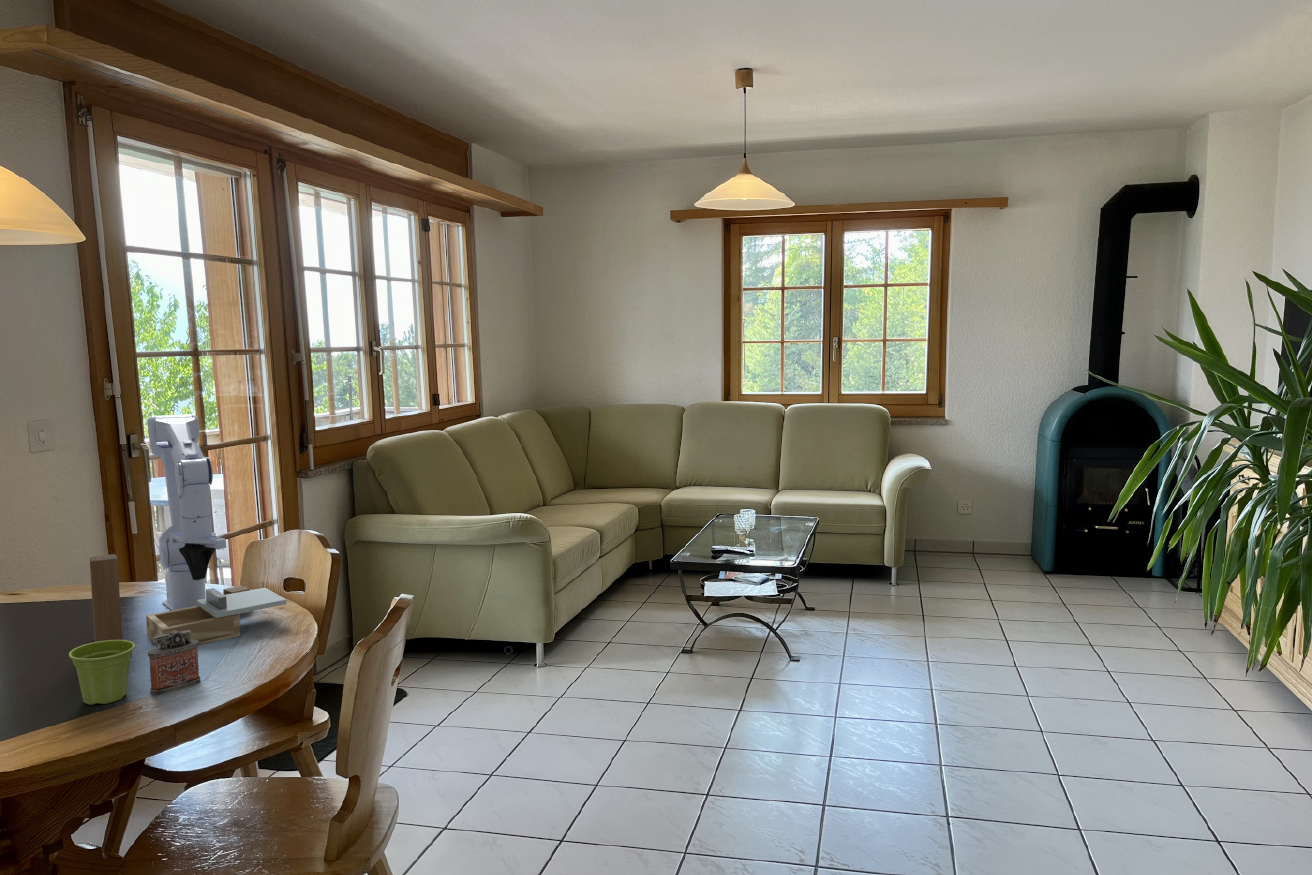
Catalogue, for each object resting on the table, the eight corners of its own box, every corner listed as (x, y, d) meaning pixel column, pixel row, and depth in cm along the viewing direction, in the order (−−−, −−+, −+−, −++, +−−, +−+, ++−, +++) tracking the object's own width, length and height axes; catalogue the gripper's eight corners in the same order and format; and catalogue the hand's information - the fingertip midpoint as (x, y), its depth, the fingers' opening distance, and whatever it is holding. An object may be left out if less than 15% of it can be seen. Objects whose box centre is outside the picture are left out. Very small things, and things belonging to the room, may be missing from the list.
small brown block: (224, 610, 195) (223, 589, 194) (241, 606, 198) (240, 585, 197) (233, 614, 192) (232, 592, 192) (250, 610, 196) (249, 588, 195)
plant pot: (119, 683, 154) (116, 635, 153) (149, 694, 149) (146, 645, 148) (61, 701, 146) (57, 651, 145) (90, 714, 141) (87, 663, 140)
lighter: (195, 678, 156) (192, 624, 155) (203, 683, 154) (201, 628, 153) (146, 691, 150) (143, 635, 149) (154, 697, 148) (151, 640, 147)
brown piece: (147, 636, 178) (146, 615, 177) (220, 621, 187) (219, 601, 187) (164, 652, 169) (163, 629, 169) (240, 635, 179) (239, 614, 178)
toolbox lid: (197, 604, 184) (196, 588, 183) (265, 591, 193) (264, 576, 193) (216, 618, 175) (215, 601, 175) (286, 604, 185) (285, 587, 184)
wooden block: (94, 638, 176) (88, 551, 174) (120, 634, 179) (115, 548, 177) (95, 652, 169) (89, 561, 167) (122, 647, 171) (117, 558, 169)
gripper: (237, 515, 184) (239, 578, 185) (188, 509, 189) (191, 570, 191) (208, 521, 177) (211, 586, 179) (158, 515, 183) (162, 578, 184)
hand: (199, 578), depth 184 cm, fingers closed
